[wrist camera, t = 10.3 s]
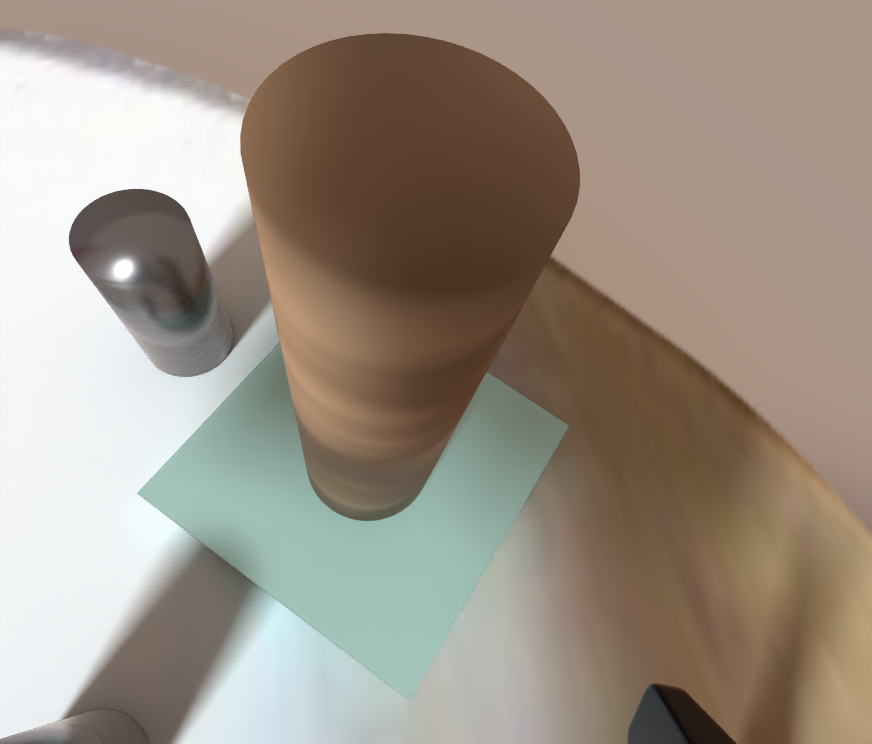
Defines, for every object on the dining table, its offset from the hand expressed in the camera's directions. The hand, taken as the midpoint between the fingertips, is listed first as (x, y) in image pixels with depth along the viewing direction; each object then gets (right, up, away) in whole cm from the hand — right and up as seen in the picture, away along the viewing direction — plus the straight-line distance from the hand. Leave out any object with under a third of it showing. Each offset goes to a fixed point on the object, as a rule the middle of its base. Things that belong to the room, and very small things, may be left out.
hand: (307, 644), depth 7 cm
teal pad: (-1, 0, +12) cm, 12 cm away
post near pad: (-7, +5, +13) cm, 16 cm away
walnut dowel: (-1, +1, +11) cm, 11 cm away
